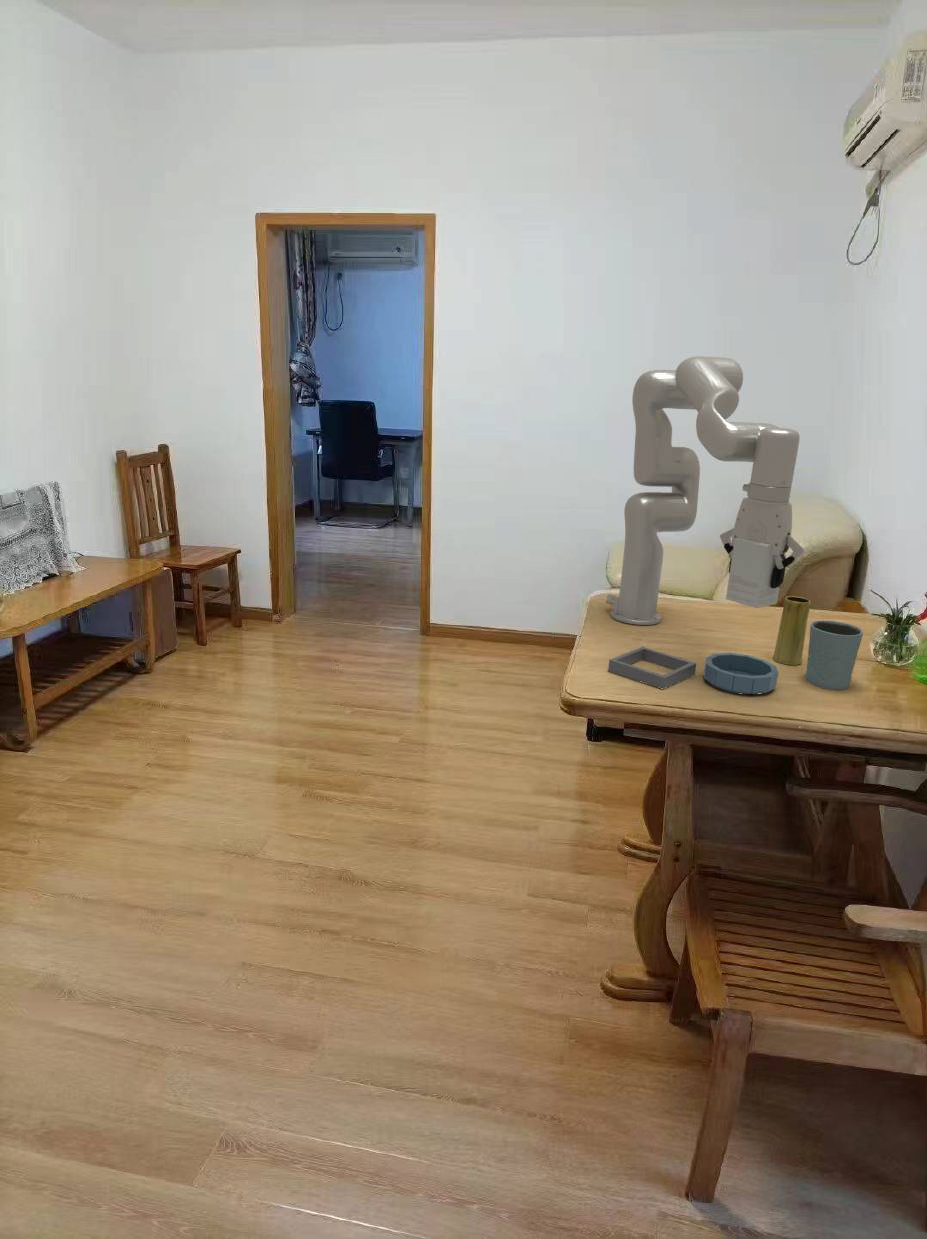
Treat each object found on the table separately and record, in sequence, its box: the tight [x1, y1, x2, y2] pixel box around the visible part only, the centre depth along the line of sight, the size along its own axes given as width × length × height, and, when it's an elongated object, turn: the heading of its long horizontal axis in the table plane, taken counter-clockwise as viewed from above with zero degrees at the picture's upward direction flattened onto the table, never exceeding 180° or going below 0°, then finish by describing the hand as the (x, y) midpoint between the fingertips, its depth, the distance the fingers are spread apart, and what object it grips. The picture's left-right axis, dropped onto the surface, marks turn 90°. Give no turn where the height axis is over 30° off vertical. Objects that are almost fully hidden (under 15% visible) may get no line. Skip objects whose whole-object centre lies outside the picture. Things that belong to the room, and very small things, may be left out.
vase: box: [772, 595, 812, 666], centre depth 188 cm, size 6×6×14 cm
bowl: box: [703, 652, 779, 695], centre depth 175 cm, size 14×14×4 cm
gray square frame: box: [607, 646, 697, 690], centre depth 178 cm, size 13×13×2 cm
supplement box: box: [725, 538, 780, 609], centre depth 168 cm, size 7×7×13 cm
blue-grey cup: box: [805, 620, 864, 691], centre depth 177 cm, size 10×10×12 cm
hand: (754, 581), depth 169 cm, fingers closed on supplement box, 8 cm apart
